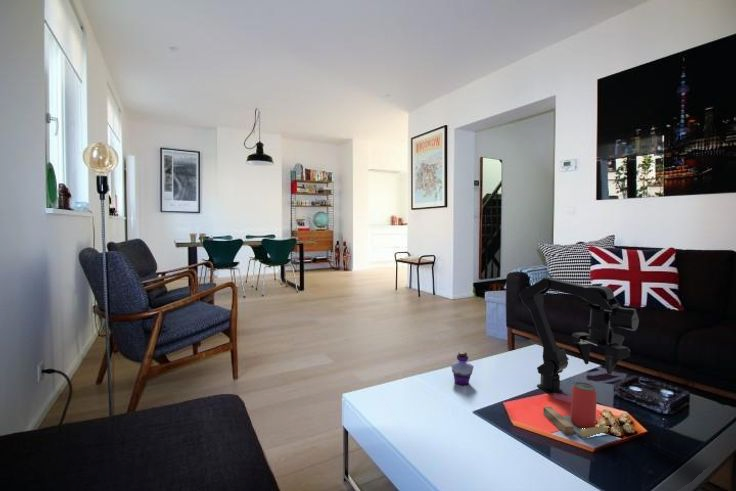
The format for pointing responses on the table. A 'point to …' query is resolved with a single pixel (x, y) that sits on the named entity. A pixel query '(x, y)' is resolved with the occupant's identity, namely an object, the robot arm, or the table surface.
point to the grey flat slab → (586, 429)
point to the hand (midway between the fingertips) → (597, 369)
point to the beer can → (583, 405)
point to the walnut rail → (558, 420)
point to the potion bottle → (462, 369)
